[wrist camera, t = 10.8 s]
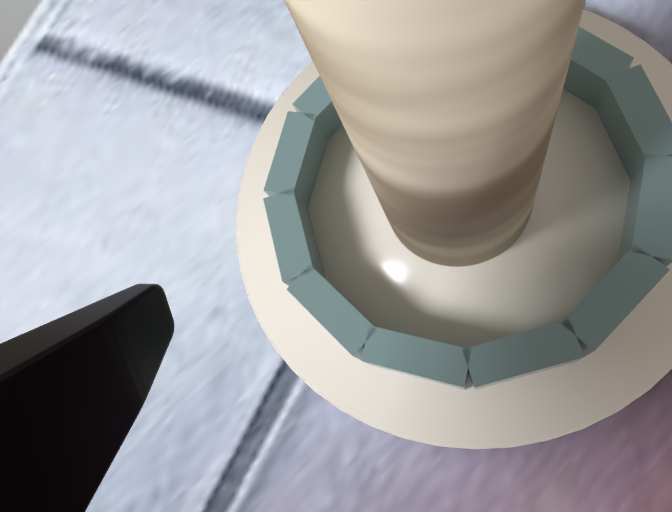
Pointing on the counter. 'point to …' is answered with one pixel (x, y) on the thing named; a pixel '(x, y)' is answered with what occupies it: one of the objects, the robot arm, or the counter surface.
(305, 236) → the ring dish
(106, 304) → the robot arm
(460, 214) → the birch cylinder
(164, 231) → the counter surface
